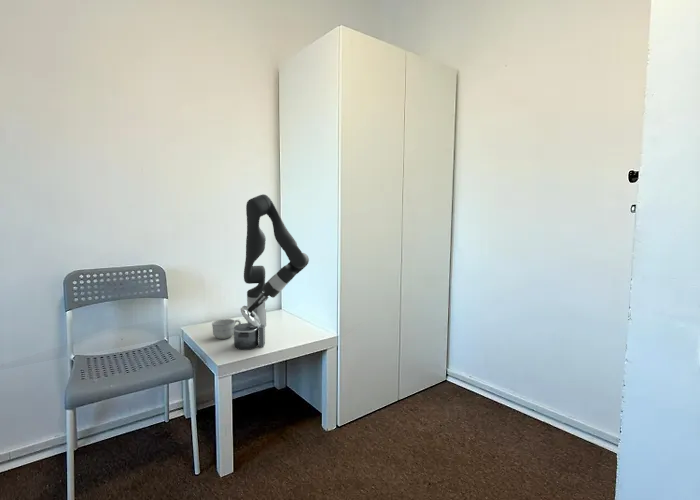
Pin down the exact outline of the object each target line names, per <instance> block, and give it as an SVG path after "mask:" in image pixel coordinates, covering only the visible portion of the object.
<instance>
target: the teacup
mask: <svg viewBox="0 0 700 500" xmlns="http://www.w3.org/2000/svg"><path fill="white" fill-rule="evenodd" d="M236 323H238V325H239V324H242V322H241V320H239V319H235V320H234V319H231V318H230V319H229V318H223V319H218V320H214V321H213V322H212V323H211V325H212V327H211V328H212V335H213V336H214V337H215V338H217V339H219V340H224V339H229V338H232V336H234V326H236Z"/></svg>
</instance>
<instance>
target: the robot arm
mask: <svg viewBox="0 0 700 500" xmlns="http://www.w3.org/2000/svg"><path fill="white" fill-rule="evenodd" d="M245 206H246V207H245V208H246V210H245V212H246V214H245V215H246V238H245V239H246V240H245V261H244V268H243V269H244V270H243V281H244V283H245V284H254V285H255V284H257V285H256V286H253V287H252V288H250V289H248V290H247V292H246V301H247V303H246V304H247V305H246V306H247V307H249V308H248V311H249V312H250V313H251V312H252V311H254V312H255V313H256V315H257V316H258V317H259V319H260V321H261V324H265V327H267V308H266V301H267V300H269V297H270V298H273V299H274V298H276V297H277V296H278V294H279V293H281V291H282V290H283V289H285V287H286V286H287V285H288V284H289V282H291V281H292V280H293V278H294V277H295V276H297V275H298V274H300V272H301V271H303V270H304V269H305V268H306V267H307V266H308V264H309V261H310V258H309V256H308V255H307V254H306V253H304V252H303V251H302V250H301V249H300V247H299V246H298V244H297V241H296V239H295V238H294V237H293V235H292V234H291V233H290V231H289V230H288V229H287V227H286V225H285V223H284V222H283V220H282V217H281V215H280V213H279V211H278V210H277V208H276V206H275V204H274V202H273V201H272V199H271V198H270V197H269V196H268V195H266V194H260V195H257V196H255V197H252V198H250V199H248V200H247V202H246V205H245ZM265 215H267V217H269V219H270V221H271V224H272V229H273V235H274V239H275V241H276V242H277V244H278V245H279V247H280V248H281V249H282V251H284V253H285V255H286V257H287V259H288V260H289V261H288V263H287V264H286V265H283V266H282V267H281V268H280V269H279V270H278V271H277V272H276V273H274V275H272V276H271V277H270V278H269V279H268V280H267V281H266V268H265V266H264V265H254V263H255V262H256V261H257V260H258V259H259V258H260V257H261V256H262V254H263V253H264V251H265V250H266V249H265V248H266V235H265V233H264V231H263V230H262V229H261V227H260V220H261V219H260V218H261V217H263V216H265ZM247 323H249V322H248V321H247Z"/></svg>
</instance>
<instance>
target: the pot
mask: <svg viewBox="0 0 700 500" xmlns="http://www.w3.org/2000/svg"><path fill="white" fill-rule="evenodd" d="M233 343H234V344H233V346H234V349H236V350H240V351H248V350H249V351H250V350H253V349H256V348H257V347H258V348H264V346H265V344H266V326H265V324H261V325H260V326H259V327H254V326H252V325H251V324H250V323H248V322H246V323H245V322H244V323H241V324H239V323H238V324H235V326H234V334H233Z"/></svg>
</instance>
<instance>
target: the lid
mask: <svg viewBox="0 0 700 500" xmlns="http://www.w3.org/2000/svg"><path fill="white" fill-rule="evenodd" d="M248 308H249V307H247V305H243V306H242V307H240V312H241V315H242V317H243V319H245V320H246V322H247V323H248V322H249V323H250V324H251V325H252V326H254V327H259V326H260V325H261V321H260V319H259V317H258V316H257V315H256V313H255V312H254V311H252V312H251V313H250V312H249V311H248Z"/></svg>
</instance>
